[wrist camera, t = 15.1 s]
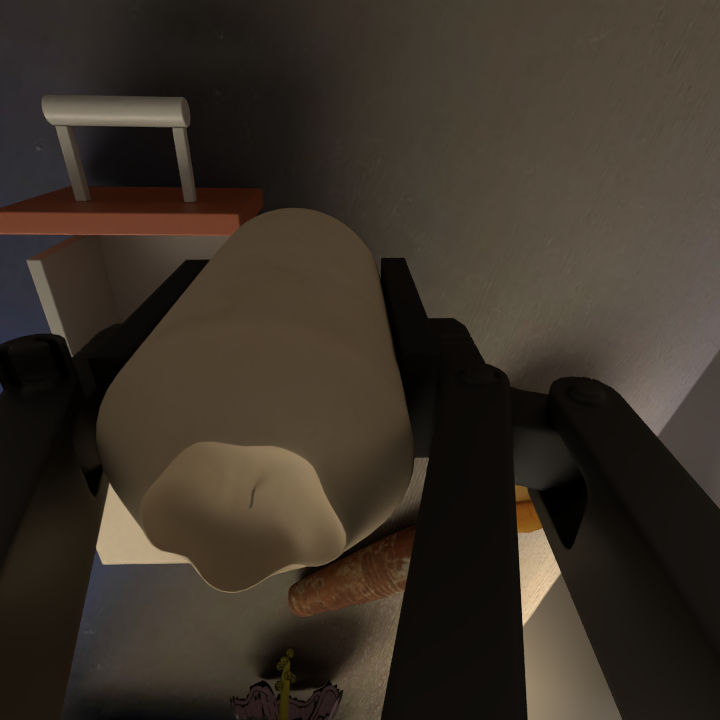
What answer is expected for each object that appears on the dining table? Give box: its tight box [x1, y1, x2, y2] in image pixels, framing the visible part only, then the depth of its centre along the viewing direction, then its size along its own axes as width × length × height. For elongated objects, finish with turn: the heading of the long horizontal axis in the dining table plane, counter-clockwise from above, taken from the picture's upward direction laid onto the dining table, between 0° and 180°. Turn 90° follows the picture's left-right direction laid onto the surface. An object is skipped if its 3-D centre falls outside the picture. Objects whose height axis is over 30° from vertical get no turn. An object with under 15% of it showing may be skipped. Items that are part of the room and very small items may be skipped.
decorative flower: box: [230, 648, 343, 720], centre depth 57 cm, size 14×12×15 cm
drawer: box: [0, 95, 263, 357], centre depth 29 cm, size 20×13×8 cm, turn 179°
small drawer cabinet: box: [96, 483, 189, 564], centre depth 36 cm, size 16×14×10 cm
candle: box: [96, 208, 415, 593], centre depth 11 cm, size 6×6×10 cm
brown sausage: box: [288, 525, 417, 617], centre depth 48 cm, size 6×19×6 cm, turn 120°
